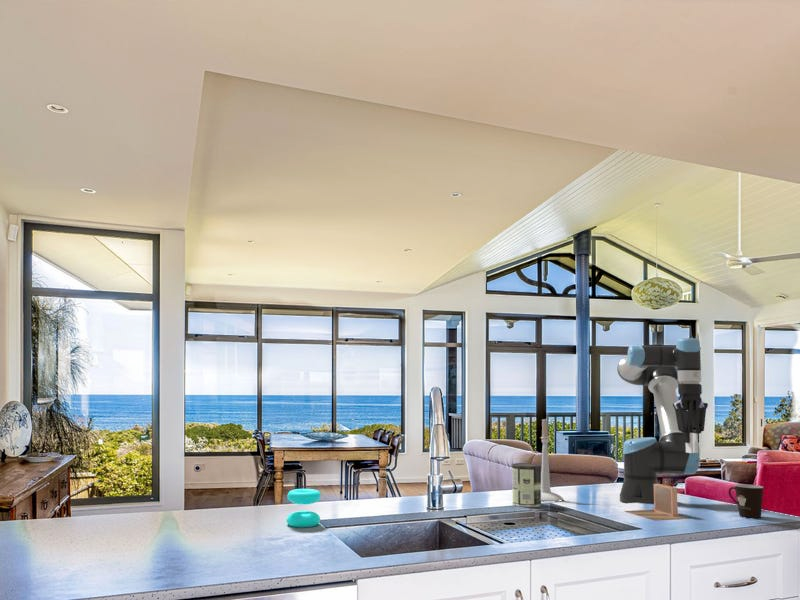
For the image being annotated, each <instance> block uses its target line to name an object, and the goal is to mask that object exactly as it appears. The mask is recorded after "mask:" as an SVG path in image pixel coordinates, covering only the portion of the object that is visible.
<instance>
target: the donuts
mask: <svg viewBox="0 0 800 600" xmlns="http://www.w3.org/2000/svg"><path fill="white" fill-rule="evenodd" d="M286 497H287V499H288V501H290V503H293V504H297V505H311V504H315V503H317V502H319V501H320V499H321V497H322V494H321V492H320V491H319V490H318V489H313V488H296V489H292V490H289V492H288V493H287V495H286ZM320 522H321V517H320V515H319V514H318V513H316V512H314V511H312V510H311V511H309V510H300V511H299V510H298V511H293V512H291V513H290V514H288V516H287V518H286V523H287V524H288V526H290V527H294V528H312V527H315V526H318V525H319V524H320Z"/></svg>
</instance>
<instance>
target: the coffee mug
mask: <svg viewBox="0 0 800 600" xmlns="http://www.w3.org/2000/svg"><path fill="white" fill-rule="evenodd" d="M732 490H734V491H735V496H736V499H735V498H734V497H733V496H732V494H731V491H732ZM728 495H729V497H730V499H732V501H733V502H734V503H735V504H736V505H737V507H738V508H737V510H738V515H740V516H742V517H741V518H743V517H746V518H745V519H750V518H756V519H757V520H758V518H760V519H762V508H763V495H764V486H762V485H759V484H758V485H755V484H747V483H746V484H745V483H742V484H741V483H739V484H738V483H737V484H734V486H733V487H732V486H731V487H730V488H728ZM740 516H739V517H740ZM756 519H755V520H756Z"/></svg>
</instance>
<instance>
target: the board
mask: <svg viewBox="0 0 800 600" xmlns="http://www.w3.org/2000/svg"><path fill="white" fill-rule="evenodd" d="M623 512H625V513H628V514H631V515H635V516H639V517H641V518H645V519H649V520H652V521H656V522H657V521H670V520H688V519H689V520H691V519H692V518H691V517H688V516H684V515H680V514H678V516H670V515H667V514H663V513H659V512H656V511H654V509H640V510H623Z"/></svg>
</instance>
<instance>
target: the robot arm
mask: <svg viewBox="0 0 800 600" xmlns="http://www.w3.org/2000/svg"><path fill="white" fill-rule="evenodd" d="M701 349H702V348H701V344H700V339H699V338H694V337H691V338H690V337H689V338H688V337H687V338H686V337H685V338H677V340H676V345H643V344H642V345H641V344H636V345H630V346H629V347H627V356H625V357H624V358H622V359H621V360H619V362H618V364H617V374H618V376H619V377H620V378H621V379H622V381H624V382H626V383H627V384H631V385H634V386H647V388H648V390H649V392H650V393H652V394H653V397H654V403H655V408H656V413H657V417H658V423H659V428H660V433H661V434H660V435H661V436H660V438H659V440H658V441H657V439H656V437H652V436H649V437H648V436H647V437H635V438H630V439H627V440H625V441H624V442H623V450H622V451H623V452H622V454H623V482H622V484H621V485H622V487H621V490H620V492H619V501H620V502H621V503H626V504H654V484H659V482H658V474H660V475H661V474H664V475H666V474H667V475H668V474H669V475H683V476H685V475H694V474H696V473H697V472H698V470H699V465H700V455H701V453H700V451H701V450H700V445H699V443H700V434H702V432H704V431H705V424H706V416H707V414H706V413H707V409H708V407H709V404H708V402H704V401H702V397H701V395H702V394H703V389H702V388H703V387H702V384H701V383H702V366H701V365H702V363H701V351H702V350H701ZM677 392H678V393H677ZM677 394H678V395H679V398H678V395H677Z"/></svg>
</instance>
